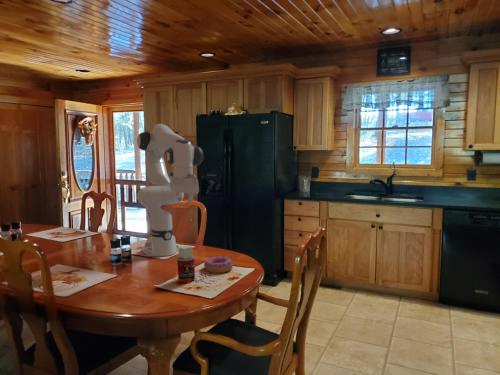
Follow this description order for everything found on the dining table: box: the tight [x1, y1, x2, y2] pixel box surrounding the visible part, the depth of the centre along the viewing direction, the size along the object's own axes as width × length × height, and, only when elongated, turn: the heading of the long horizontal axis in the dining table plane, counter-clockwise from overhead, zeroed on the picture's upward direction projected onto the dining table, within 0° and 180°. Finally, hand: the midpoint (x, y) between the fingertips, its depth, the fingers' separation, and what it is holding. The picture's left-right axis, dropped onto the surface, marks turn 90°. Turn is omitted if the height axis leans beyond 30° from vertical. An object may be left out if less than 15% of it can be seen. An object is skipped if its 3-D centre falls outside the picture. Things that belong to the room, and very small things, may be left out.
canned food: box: [177, 255, 196, 284], centre depth 172 cm, size 8×8×11 cm
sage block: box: [177, 244, 194, 259], centre depth 171 cm, size 5×5×5 cm
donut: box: [203, 255, 234, 274], centre depth 187 cm, size 14×14×5 cm
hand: (184, 201), depth 182 cm, fingers open, 8 cm apart
